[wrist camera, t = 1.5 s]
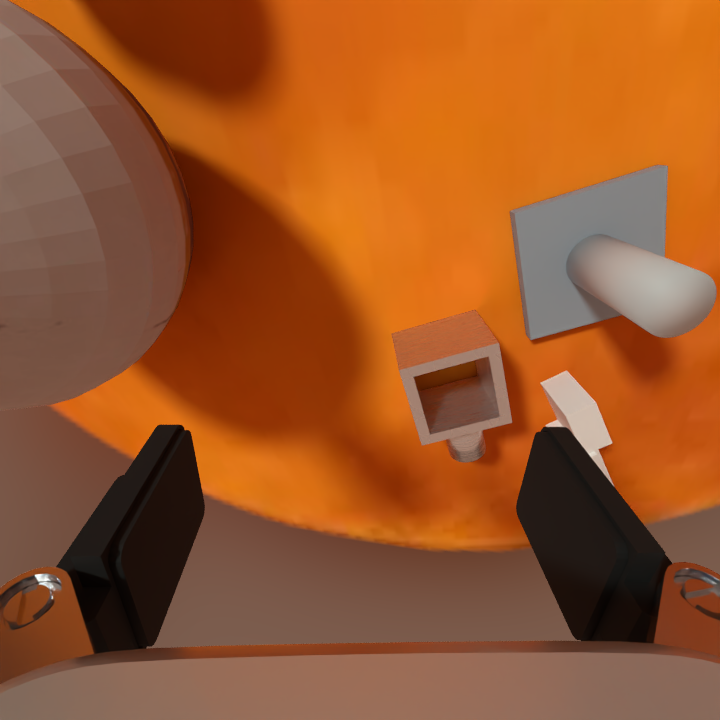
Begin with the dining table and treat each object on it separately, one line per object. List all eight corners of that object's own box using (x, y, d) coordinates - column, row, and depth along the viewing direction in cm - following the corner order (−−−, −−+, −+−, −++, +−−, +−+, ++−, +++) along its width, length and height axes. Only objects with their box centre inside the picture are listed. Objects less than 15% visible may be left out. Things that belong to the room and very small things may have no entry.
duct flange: (657, 164, 28) (796, 177, 20) (654, 299, 33) (765, 359, 24) (509, 211, 30) (577, 242, 21) (526, 334, 34) (587, 403, 25)
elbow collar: (391, 333, 34) (399, 370, 29) (475, 309, 33) (498, 342, 28) (421, 432, 39) (432, 479, 33) (494, 413, 38) (518, 458, 32)
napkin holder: (596, 482, 43) (629, 528, 38) (488, 473, 42) (507, 519, 37) (665, 351, 36) (717, 386, 31) (537, 336, 35) (568, 371, 30)
